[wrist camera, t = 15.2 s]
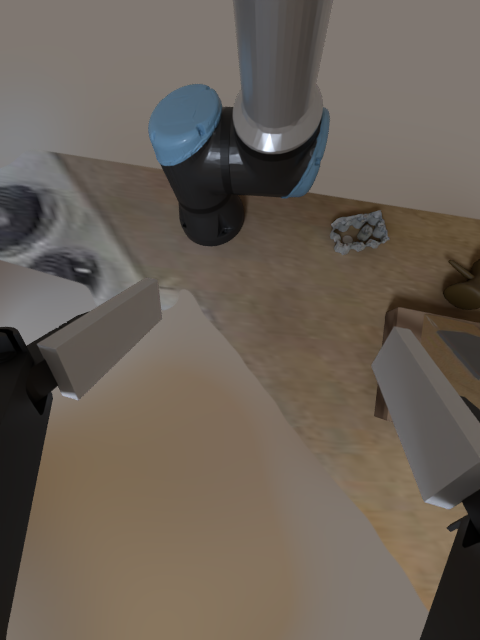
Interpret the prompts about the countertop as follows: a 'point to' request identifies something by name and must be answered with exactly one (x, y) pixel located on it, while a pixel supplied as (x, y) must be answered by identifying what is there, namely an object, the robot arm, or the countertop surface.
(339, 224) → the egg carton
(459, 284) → the kendama
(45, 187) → the countertop surface
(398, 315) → the walnut shelf
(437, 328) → the sandwich container
